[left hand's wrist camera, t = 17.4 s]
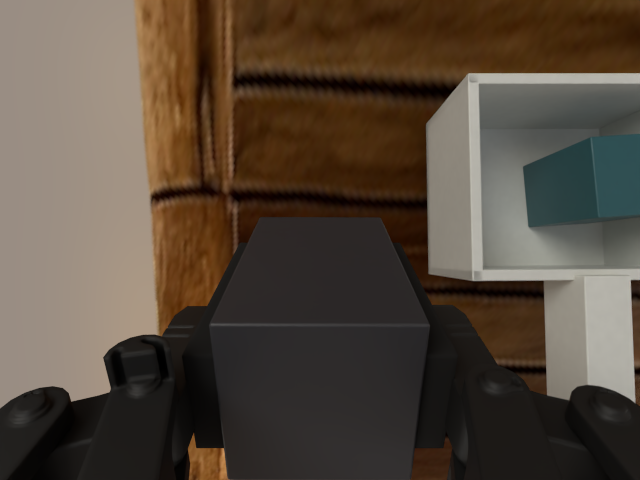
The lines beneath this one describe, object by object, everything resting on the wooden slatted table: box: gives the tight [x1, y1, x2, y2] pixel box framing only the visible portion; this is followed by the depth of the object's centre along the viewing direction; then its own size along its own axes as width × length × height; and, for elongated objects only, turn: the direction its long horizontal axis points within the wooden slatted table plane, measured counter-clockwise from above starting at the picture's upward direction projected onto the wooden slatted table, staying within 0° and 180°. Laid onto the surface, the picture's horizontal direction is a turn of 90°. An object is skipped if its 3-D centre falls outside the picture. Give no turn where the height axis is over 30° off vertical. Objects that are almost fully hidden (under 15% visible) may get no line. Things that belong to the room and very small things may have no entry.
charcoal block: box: [209, 217, 430, 480], centre depth 12 cm, size 4×4×7 cm
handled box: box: [426, 73, 640, 403], centre depth 24 cm, size 13×24×9 cm, turn 0°
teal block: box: [523, 134, 640, 227], centre depth 25 cm, size 4×4×7 cm
